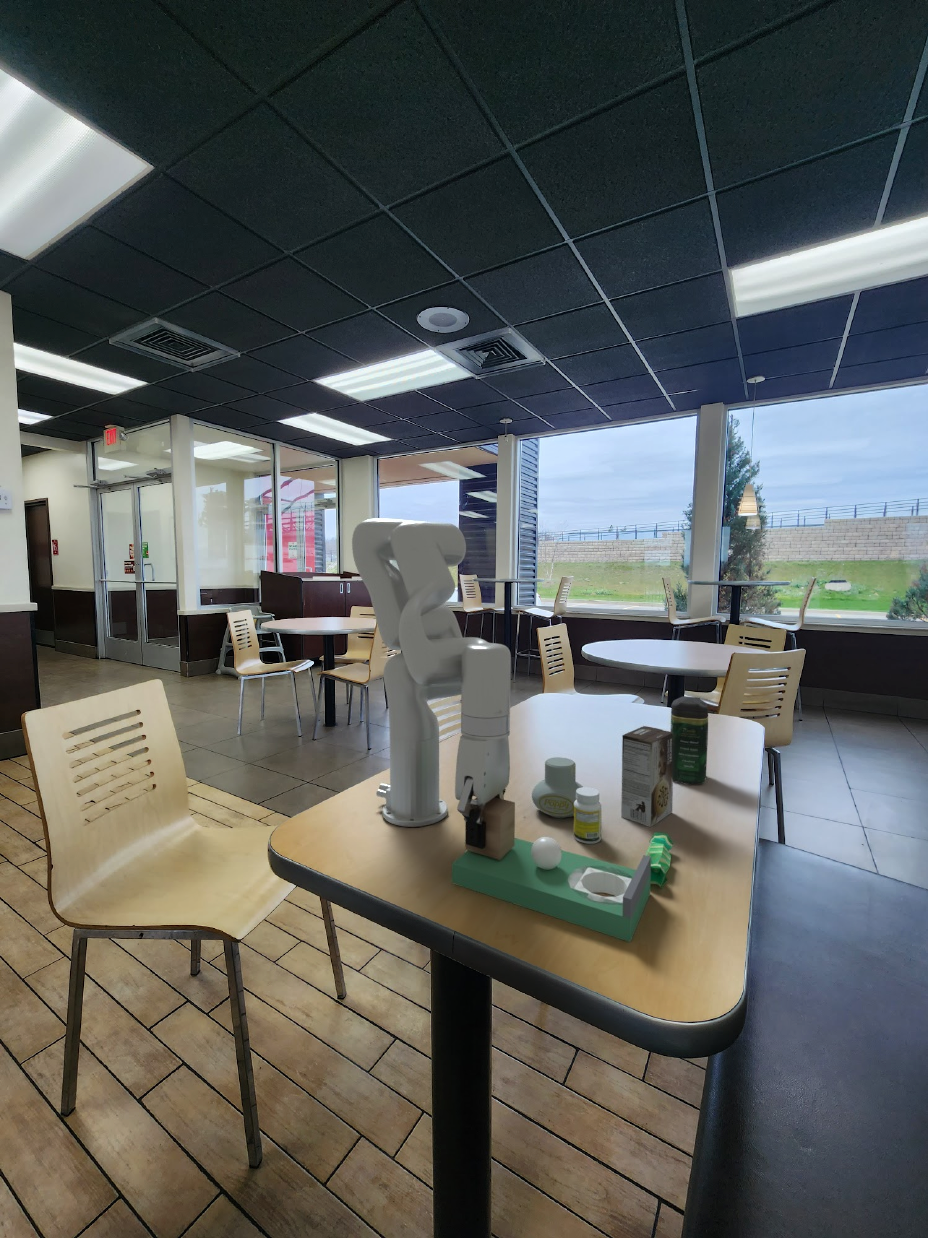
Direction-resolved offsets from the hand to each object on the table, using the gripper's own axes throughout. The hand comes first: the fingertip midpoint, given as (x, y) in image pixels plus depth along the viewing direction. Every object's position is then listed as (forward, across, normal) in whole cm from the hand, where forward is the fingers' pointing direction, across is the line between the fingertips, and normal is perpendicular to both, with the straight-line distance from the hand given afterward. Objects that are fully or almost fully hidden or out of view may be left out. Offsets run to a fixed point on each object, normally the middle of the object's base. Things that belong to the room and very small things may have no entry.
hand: (484, 837), depth 83 cm
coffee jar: (+5, -58, +22) cm, 62 cm away
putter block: (+1, 0, +1) cm, 2 cm away
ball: (0, 0, +10) cm, 10 cm away
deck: (+5, 0, +11) cm, 12 cm away
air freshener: (+5, -26, +3) cm, 27 cm away
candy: (+5, -14, +24) cm, 28 cm away
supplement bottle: (+5, -18, +11) cm, 22 cm away
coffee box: (+5, -33, +18) cm, 38 cm away
